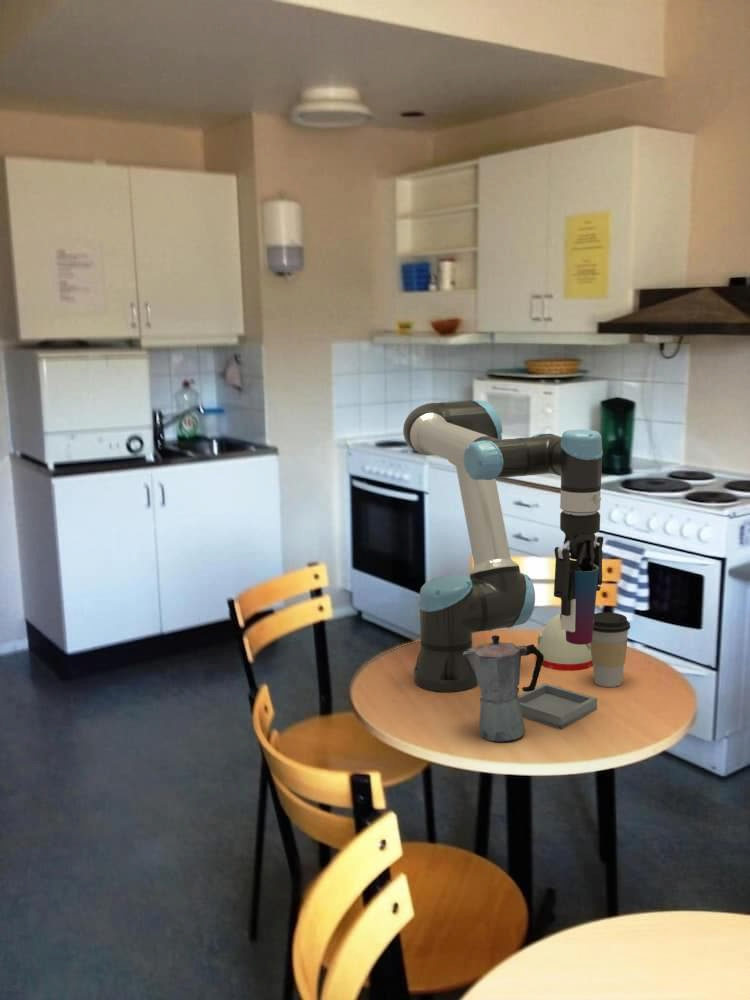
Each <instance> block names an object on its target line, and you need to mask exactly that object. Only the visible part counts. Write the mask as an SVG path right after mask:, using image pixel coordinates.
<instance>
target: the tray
mask: <svg viewBox="0 0 750 1000" xmlns="http://www.w3.org/2000/svg"><path fill="white" fill-rule="evenodd" d="M518 697H519V702H520V706H521V712H522V716H523V718H526V719H528V720H531V721H534V722H538V723H541V724H543V725H546V726H549V727H553V728H555V729H559V730H563V729H565V728H566V727H568V726H570V725H572V724H573V723H575V722H577V721H579V720H581V719H583V718H584V717H586V716H588V715H590V714H592V713H593V712H595V711H597V710H598V698H597V697H593V696H591V695H587V694H584V693H580V692H577V691H574V690H571V689H567V688H564V687H561V686H556V685H553V684H549V683H546V682H545V683H542V684H540V685H538V686H535V690H533V691H527V692H522V693H521V694H518Z"/></svg>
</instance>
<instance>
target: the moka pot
mask: <svg viewBox="0 0 750 1000" xmlns="http://www.w3.org/2000/svg"><path fill="white" fill-rule="evenodd" d="M491 640H492V642H488V643H482V644H478V645H476V646H475V647H473V648H470V649H468V650H467V651H465V652H464V653H463V655H465V656H466V657H467V659H468V661H469V662H470V664H471V666H472V668H473V670H474V672H475V674H476V678H477V683H478V685H477V687H478V688H479V689H480V696H481V697H480V699H479V702H480V713H479V726H478V727H479V728H478V730H479V731H478V733H479V735H480V736H481V737H482V738H483V739H484V740H487V741H492V742H499V743H500V742H501V743H502V742H510V741H514V740H517V739H520V738H521V737H523V736H524V734H525V732H526V727H525V721H524V717H523V716H522V712H521V706H520V702H519V697H518V696H519V694H518V693H519V691H520V687H519V685H520V681H521V679H520V677H521V661H522V657H526V656H530V655H535V656H537V660H536V659H535V664H534V667H533V672H532V679H531V681H530V684H529V686H523V687H522V688H521V690H522V692H523V693H525V692H527V691H533V690H535V688H536V687H537V683H538V679H539V676H540V672H541V669H542V667H543V666H542V663H543V661H544V656H543V654H542V653H540V651H539V650H537V646H535V644H529V645H516V644H515V643H511V642H500V636H499V635H498V634H497V635H496V634H495V635H492V636H491Z"/></svg>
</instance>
